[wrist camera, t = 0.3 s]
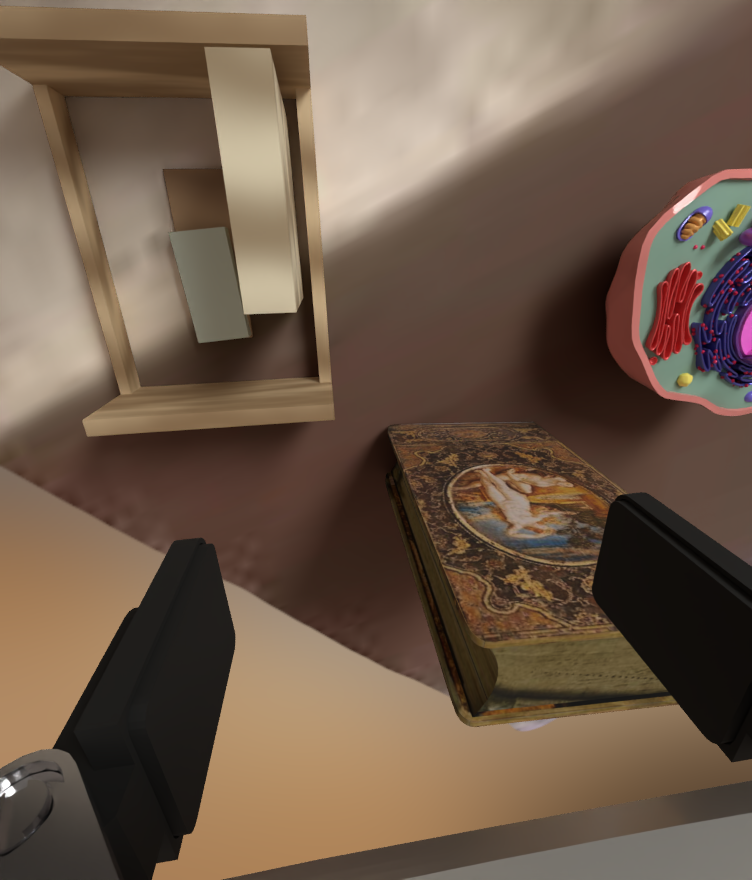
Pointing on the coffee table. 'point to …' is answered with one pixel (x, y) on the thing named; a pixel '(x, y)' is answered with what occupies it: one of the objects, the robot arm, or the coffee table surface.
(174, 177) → the offcut slab bottom
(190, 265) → the offcut slab top
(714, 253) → the cell model
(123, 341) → the pine rack
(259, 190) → the birch sheet
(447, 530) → the book
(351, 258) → the coffee table surface
